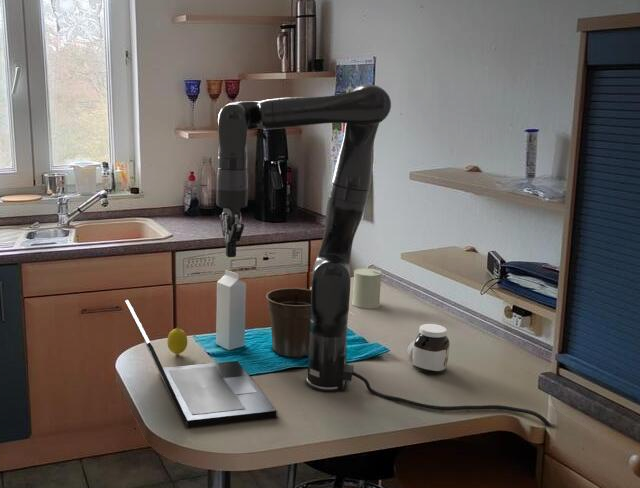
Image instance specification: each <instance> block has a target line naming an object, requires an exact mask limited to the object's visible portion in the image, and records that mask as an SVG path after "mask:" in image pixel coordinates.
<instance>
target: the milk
mask: <svg viewBox="0 0 640 488" xmlns="http://www.w3.org/2000/svg"><path fill="white" fill-rule="evenodd" d="M239 277H240V276H239V273H236V272H234V271H230V270H228V269H225V270H224V275H223V276H222V277H221V278H219V279H218V280H217V282H216V313H215V314H216V316H215V317H216V318H215V319H216V320H215V321H216V323H215V345H217V346H218V347H221V348H223V349H225V350H227V351H231V350H235V349H239V348H242V347H245V344H246V309H247V307H246V304H247V283H246V282H244V281H243V280H241V279H239Z"/></svg>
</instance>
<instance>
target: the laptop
mask: <svg viewBox="0 0 640 488" xmlns="http://www.w3.org/2000/svg"><path fill="white" fill-rule="evenodd" d="M163 370H164V372H165V374H166V376H167V378H168V380H169V382H170V384H171V387H172V389H173V391H174V393H175V395H176V397H177V399H178V402H179V404H180V406H181V408H182V410H183V413H184V415H185V417H186V419H187V421H186V422H184V424H185V426H186V427H187V429H191V428H200V427H206V426H207V427H208V426H216V425H217V426H218V425H226V424H234V423H243V422H252V421H261V420H268V419H277V412H278V411H277V408H275V407H274V405H273V404H272V403H271V401H269V399H268V398H267V396H266V395H265V394H264V393H263V391H262V390H261V389H260V387H258V385H257V383H256V382H255V381H254V380H253V379H252V378H251V376H250V375H249V373H247V371H246V370H245V369H244V367H243V366H242V365H241V363H240V362H239V361H238V360H232V361H221V362H211V363H209V362H208V363H199V364H190V365H179V366H168V367H166V366H165V367H163Z"/></svg>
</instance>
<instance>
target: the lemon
mask: <svg viewBox="0 0 640 488" xmlns="http://www.w3.org/2000/svg"><path fill="white" fill-rule="evenodd" d="M166 341H167V348H168V350H169V351H170V352H171V353H173V354H175V355H176V356H179V355H180V354H182V353H184V352H185V350H186V349H187V346H188V336H187V333H186V332H185V331H184V330H183V329H182V328H179V327H176V328H173V329H172V330H171V331H170V332H169V333H168V336H167V340H166Z"/></svg>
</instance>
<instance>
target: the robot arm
mask: <svg viewBox="0 0 640 488" xmlns="http://www.w3.org/2000/svg"><path fill="white" fill-rule="evenodd" d="M391 109H392V101H391V98H390V95H389V93H387V91H386V90H385V89H383V88H382V87H381V86H378V85H375V84H371V83H365V84H360V85H359V86H357V87H355V88H354V89H353V90H352V91H349V92H344V93H340V94H333V95H325V96H290V97H279V98H270V99H269V98H268V99H264V100H259V101H255V100H253V101H251V100H250V101H233V102H229V103H227V104H225V105H224V106H223V107H222V108H220V111H219V113H218V117H217V131H218V133H217V134H218V145H219V146H218V153H217V154H218V155H217V173H216V199H215V200H216V206H217V207H219V208H221V209H222V213H221V214H219V221H220V227H221V233H222V237H223V238H224V242H225V256H226V257H228V258H235V257H237V243H238V242H240V241H241V238H242V235H243V233H244V229H245V224H244V223H242V219H243V217H242V214H241V209H243V208H246V207H247V206H248V197H249V196H248V193H249V192H248V191H249V174H248V173H249V172H248V148H247V147H248V146H247V142H248V131H252V130H259V129H261V130H278V129H279V130H280V129H290V128H298V127H299V128H300V127H305V126H313V125H322V124H323V125H324V124H344V132H343V138H342V143H341V146H340V150H339V153H338V155H337V159H336V163H335V166H334V170H333V174H332V178H331V182H330V186H329V192H328V196H327V202H326V209H325V210H326V211H325V221H324V222H325V224H324V231H323V236H322V241H321V244H320V247H319V250H318V253H317V256H316V258H315V261H314V264H313V268H312V272H311V273H312V274H311V287H310V290H311V309H310V334H309V356H307V357H308V358H307V359H308V360H307V377H306V384H307V385H308V386H309V387H310V388H312V389H314V390H317V391H322V392H335V391H336V392H337V391H343V390H344V387H345V383H346V382H352V379H353V377H355V378H357V379H359V380H361V381H362V382H363V383H364V384H365V387H366V389H367V390H368V391H369V392H370V393H371V394H372V395H375V396H378V397H380V398H383V399H386V400H389V401H394V402H395V401H396V402H400V403H404V404H407V405H411V406H415V407H418V408H422V409H428V410H434V411H435V410H436V411H465V410H472V411H473V410H476V411H477V410H480V411H481V410H504V411H511V412H516V413H522V414H527V415H531V416H534V417H536V418H537V419H539V420H540V421H541V422H542V423H543V424H544V425H545V426H546V427H549V428H550V427H552V424H551V423H550V421H549V420H548V419H547V418H546V417H544V416H543V415H541V414H540V413H538V412H536V411H534V410H531V409H526V408H519V407H513V406H507V405H499V404H497V405H496V404H488V405H487V404H486V405H485V404H483V405H451V406H449V405H448V406H446V405H445V406H443V405H433V404H426V403H422V402H418V401H414V400H410V399H406V398H403V397H399V396H394V395H387V394H383V393H380V392H378V391H376V390H374V389H373V388H372V386H371V384H370V382H369V381H368V379H367V378H366V377H364V376H363V375H361V374H359V373H357V372H355V371H354V367H355V365H354V364H349V363H347V356H348V355H347V354H348V347H347V340H348V339H347V337H348V322H349V321H348V320H349V311H350V300H351V299H350V298H351V297H350V296H351V281H352V279H351V269H350V268H351V266H350V265H351V258H352V257H351V256H352V249H353V242H354V238H355V235H356V233H357V231H358V228H359V225H360V223H361V221H362V218H363V216H364V213H365V210H366V207H367V203H368V199H369V194H370V190H371V185H372V175H373V152H374V151H373V150H374V143H375V139H376V136H377V132H378V129H379V126H380V123H382V122H384V120H385V119H387V117H388V116H389V114H390V112H391Z"/></svg>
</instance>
